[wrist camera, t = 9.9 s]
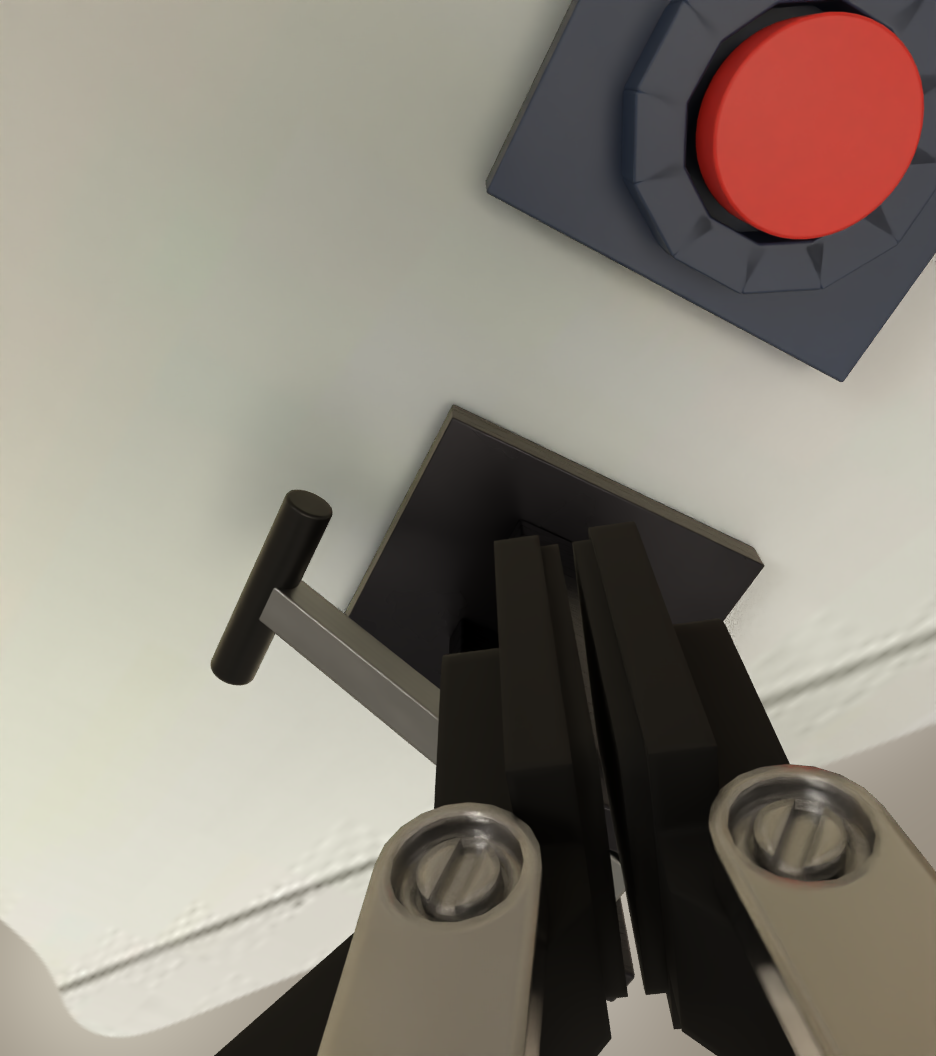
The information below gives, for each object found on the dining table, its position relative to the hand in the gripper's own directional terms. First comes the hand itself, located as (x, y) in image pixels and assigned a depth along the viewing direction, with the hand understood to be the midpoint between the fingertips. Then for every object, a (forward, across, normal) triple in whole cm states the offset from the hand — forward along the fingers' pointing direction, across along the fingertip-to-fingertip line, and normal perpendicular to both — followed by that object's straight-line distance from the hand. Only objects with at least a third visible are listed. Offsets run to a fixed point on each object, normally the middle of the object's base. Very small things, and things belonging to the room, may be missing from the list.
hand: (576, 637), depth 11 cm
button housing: (+17, -7, -4) cm, 19 cm away
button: (+13, -7, -4) cm, 15 cm away
